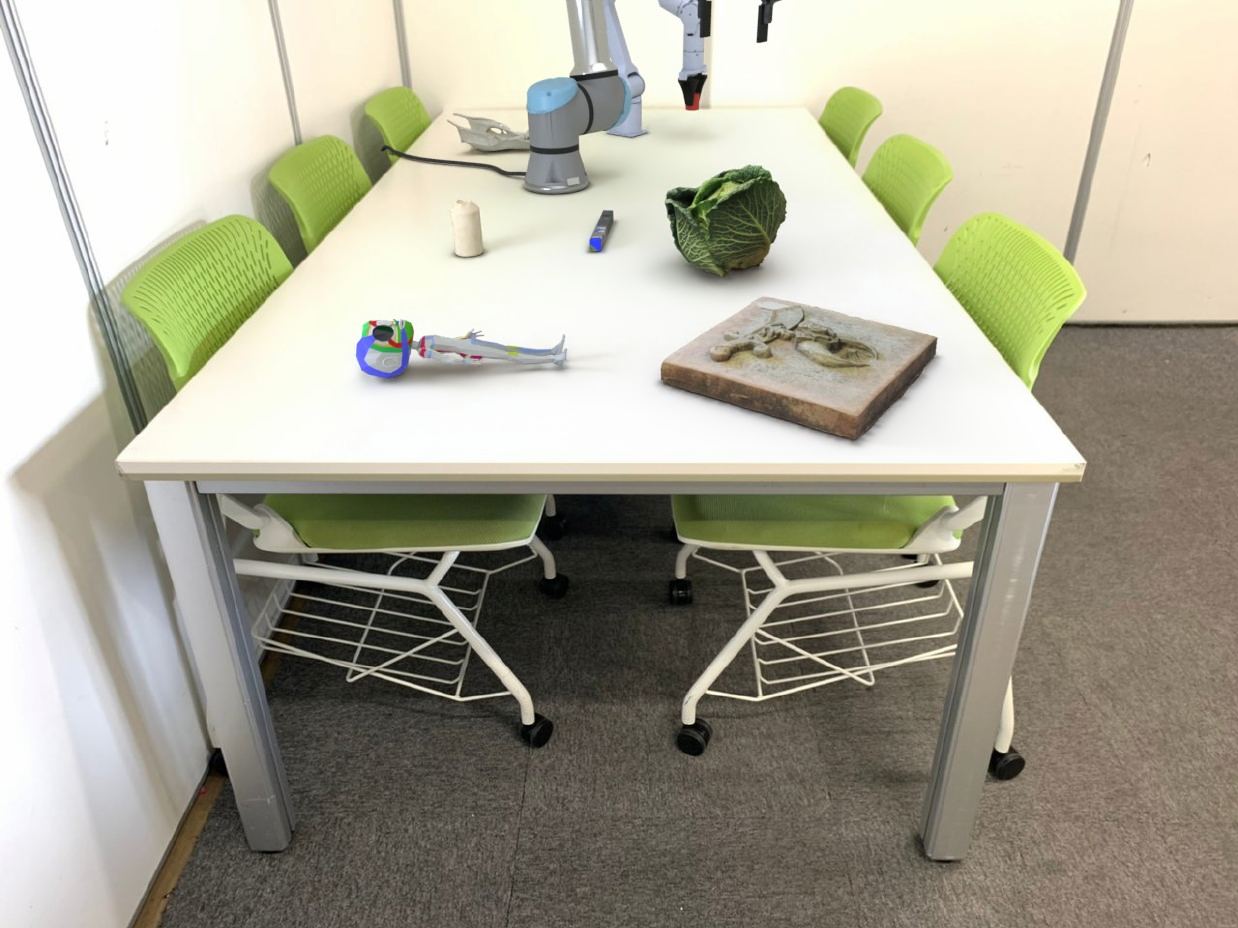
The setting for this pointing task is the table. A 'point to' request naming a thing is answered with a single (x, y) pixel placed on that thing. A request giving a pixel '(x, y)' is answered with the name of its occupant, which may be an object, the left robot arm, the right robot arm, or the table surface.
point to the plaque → (803, 364)
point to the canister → (694, 104)
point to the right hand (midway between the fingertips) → (692, 104)
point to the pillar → (601, 230)
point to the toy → (435, 349)
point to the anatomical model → (490, 135)
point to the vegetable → (727, 219)
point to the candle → (466, 228)
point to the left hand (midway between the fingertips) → (732, 40)
